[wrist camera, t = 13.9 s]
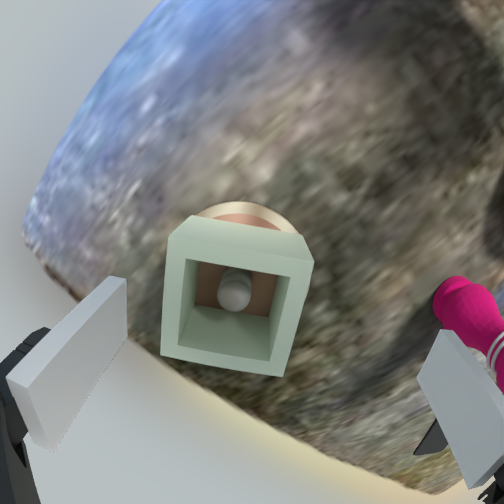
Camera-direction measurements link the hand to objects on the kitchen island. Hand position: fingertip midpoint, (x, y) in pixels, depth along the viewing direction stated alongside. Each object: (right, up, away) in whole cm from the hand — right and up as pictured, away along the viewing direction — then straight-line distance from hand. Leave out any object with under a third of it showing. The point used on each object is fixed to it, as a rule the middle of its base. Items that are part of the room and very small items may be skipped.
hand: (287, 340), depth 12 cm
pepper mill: (+24, -2, +23) cm, 33 cm away
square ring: (-3, +1, +21) cm, 21 cm away
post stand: (-3, +1, +22) cm, 23 cm away
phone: (+33, -27, +31) cm, 52 cm away
